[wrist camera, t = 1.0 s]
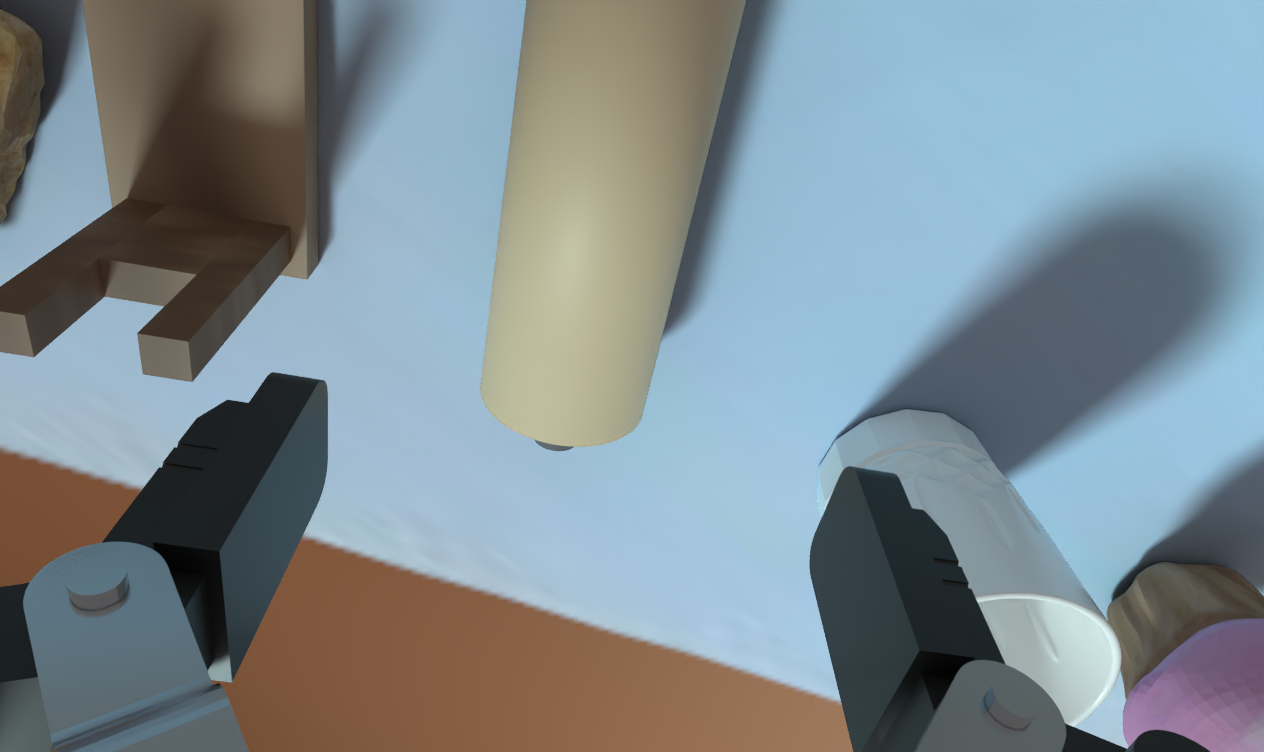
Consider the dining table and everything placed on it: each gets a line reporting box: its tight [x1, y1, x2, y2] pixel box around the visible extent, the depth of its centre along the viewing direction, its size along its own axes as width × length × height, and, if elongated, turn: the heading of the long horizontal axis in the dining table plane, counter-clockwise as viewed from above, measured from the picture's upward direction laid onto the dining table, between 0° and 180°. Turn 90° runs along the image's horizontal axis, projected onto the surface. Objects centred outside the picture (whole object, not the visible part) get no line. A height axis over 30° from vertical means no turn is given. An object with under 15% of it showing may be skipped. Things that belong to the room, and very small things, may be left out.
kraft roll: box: [480, 0, 746, 451], centre depth 24 cm, size 6×20×6 cm, turn 169°
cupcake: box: [1107, 562, 1264, 752], centre depth 33 cm, size 9×9×10 cm
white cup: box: [816, 409, 1122, 727], centre depth 30 cm, size 8×8×10 cm
